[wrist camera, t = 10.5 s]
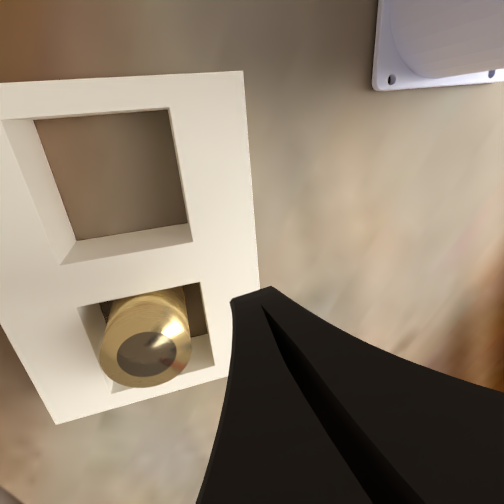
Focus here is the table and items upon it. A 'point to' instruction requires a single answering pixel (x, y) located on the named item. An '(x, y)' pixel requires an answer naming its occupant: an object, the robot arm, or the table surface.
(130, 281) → the jig plate
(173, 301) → the brass bushing
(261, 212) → the table surface
